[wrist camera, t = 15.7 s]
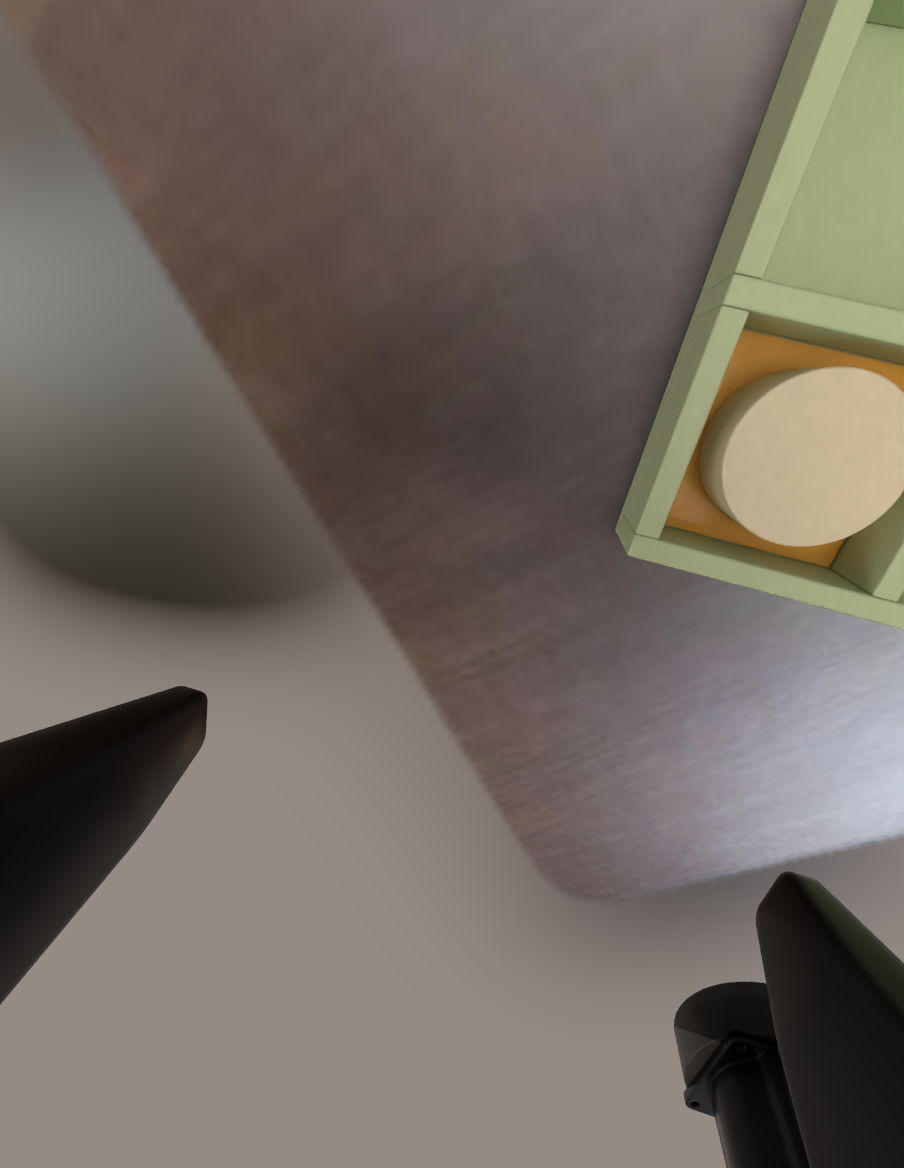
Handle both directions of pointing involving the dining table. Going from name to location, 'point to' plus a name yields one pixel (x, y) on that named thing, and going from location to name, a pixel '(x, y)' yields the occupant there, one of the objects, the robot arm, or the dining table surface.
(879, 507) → the cylinder
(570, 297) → the dining table surface
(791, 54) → the grid
